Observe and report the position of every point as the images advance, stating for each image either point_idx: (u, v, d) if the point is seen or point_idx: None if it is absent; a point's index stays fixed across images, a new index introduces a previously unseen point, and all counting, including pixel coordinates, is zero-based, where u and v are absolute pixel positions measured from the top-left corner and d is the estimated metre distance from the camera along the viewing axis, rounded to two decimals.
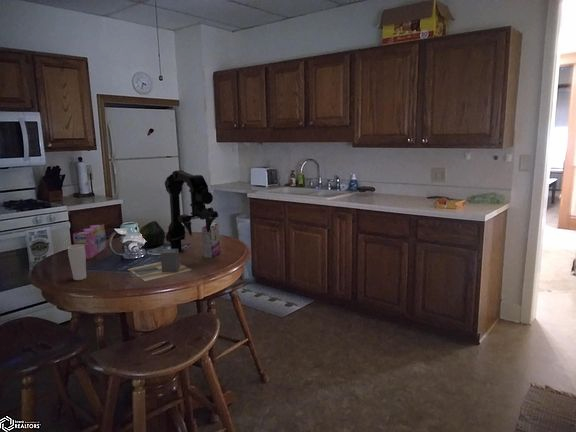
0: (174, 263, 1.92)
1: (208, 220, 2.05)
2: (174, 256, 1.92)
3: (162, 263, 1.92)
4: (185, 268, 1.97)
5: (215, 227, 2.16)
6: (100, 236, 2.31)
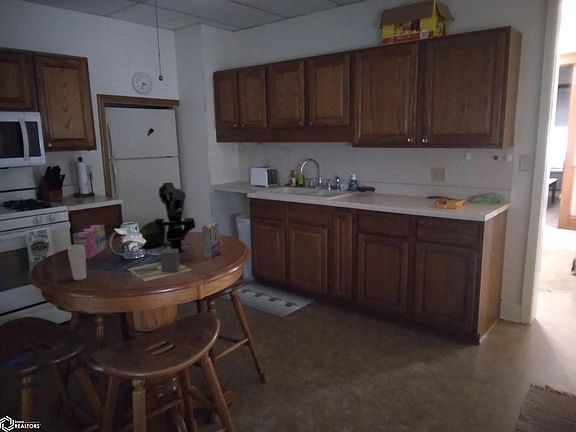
0: (174, 263, 1.92)
1: None
2: (174, 256, 1.92)
3: (162, 263, 1.92)
4: (185, 268, 1.97)
5: (215, 227, 2.16)
6: (100, 236, 2.31)
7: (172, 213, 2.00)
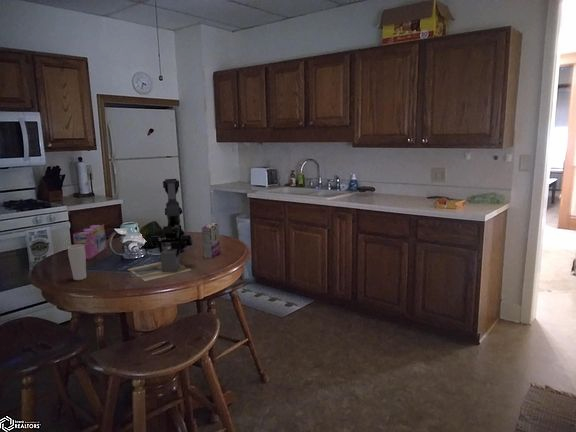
0: (174, 263, 1.92)
1: None
2: (174, 256, 1.92)
3: (162, 263, 1.92)
4: (185, 268, 1.97)
5: (215, 227, 2.16)
6: (100, 236, 2.31)
7: (168, 230, 1.92)
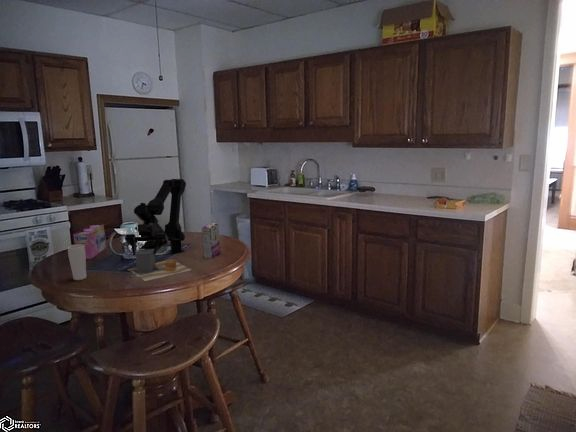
0: (149, 264, 1.92)
1: None
2: (149, 257, 1.91)
3: (137, 264, 1.92)
4: (185, 268, 1.97)
5: (215, 227, 2.16)
6: (100, 237, 2.31)
7: (142, 228, 1.92)
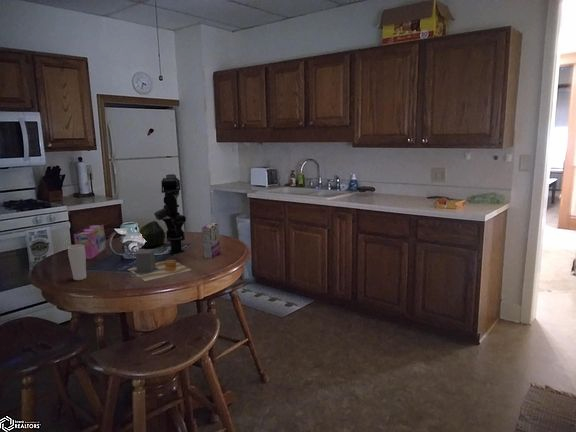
0: (149, 264, 1.92)
1: None
2: (149, 257, 1.91)
3: (137, 264, 1.92)
4: (185, 268, 1.97)
5: (215, 227, 2.16)
6: (100, 237, 2.30)
7: (157, 218, 2.06)
